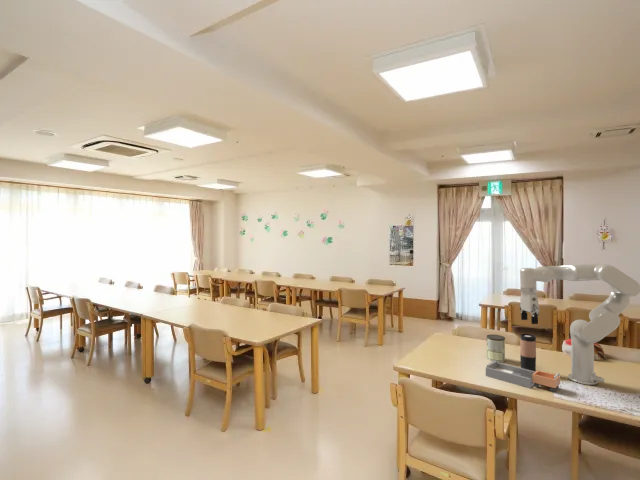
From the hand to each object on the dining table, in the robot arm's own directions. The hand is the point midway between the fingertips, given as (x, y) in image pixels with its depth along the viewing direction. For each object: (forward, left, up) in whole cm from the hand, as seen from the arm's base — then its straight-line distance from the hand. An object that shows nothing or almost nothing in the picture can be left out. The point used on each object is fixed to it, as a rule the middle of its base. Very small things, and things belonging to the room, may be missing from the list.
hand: (529, 321), depth 193 cm
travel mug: (+3, -7, -30) cm, 30 cm away
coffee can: (+23, -12, -30) cm, 39 cm away
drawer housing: (+5, +12, -29) cm, 32 cm away
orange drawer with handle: (-11, +12, -29) cm, 34 cm away
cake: (-12, -63, -30) cm, 71 cm away
